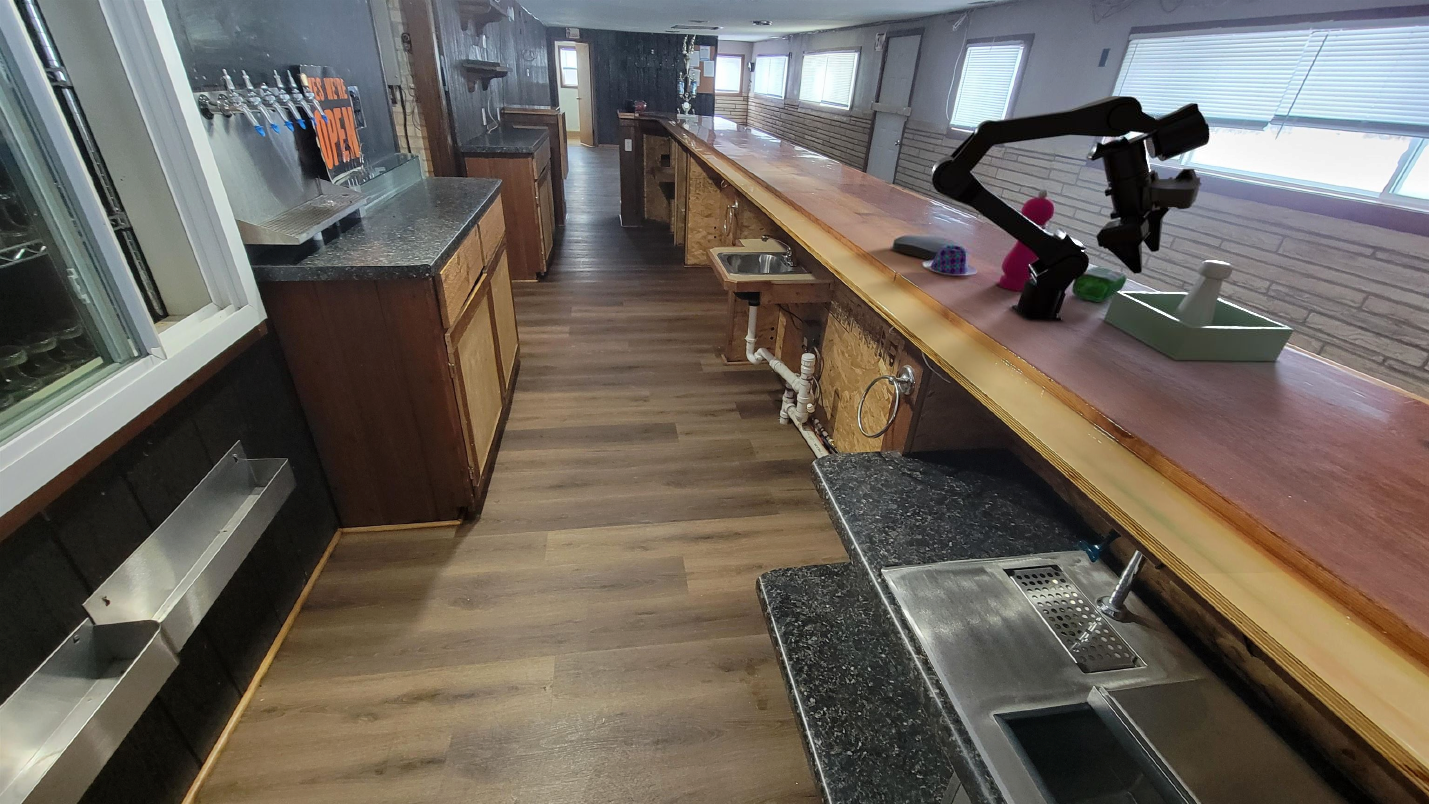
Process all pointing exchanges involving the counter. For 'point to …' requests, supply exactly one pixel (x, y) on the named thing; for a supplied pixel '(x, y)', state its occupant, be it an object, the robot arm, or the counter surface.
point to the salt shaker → (1203, 294)
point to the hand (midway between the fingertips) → (1146, 261)
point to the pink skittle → (1021, 255)
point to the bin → (1197, 329)
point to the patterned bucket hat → (950, 262)
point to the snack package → (1098, 284)
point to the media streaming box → (921, 245)
